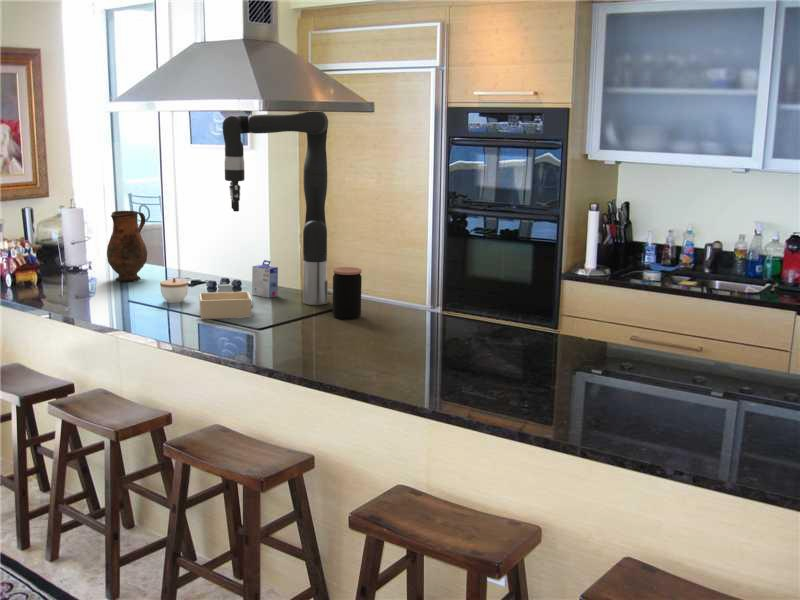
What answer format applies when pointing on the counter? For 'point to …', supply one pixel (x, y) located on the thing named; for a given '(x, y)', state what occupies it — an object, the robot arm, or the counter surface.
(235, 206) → the robot arm
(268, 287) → the ink cartridge box
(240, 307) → the base
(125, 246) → the pitcher
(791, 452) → the counter surface
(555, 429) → the counter surface
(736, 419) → the counter surface
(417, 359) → the counter surface
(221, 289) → the lid
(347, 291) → the coffee jar
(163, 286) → the lidded jar
